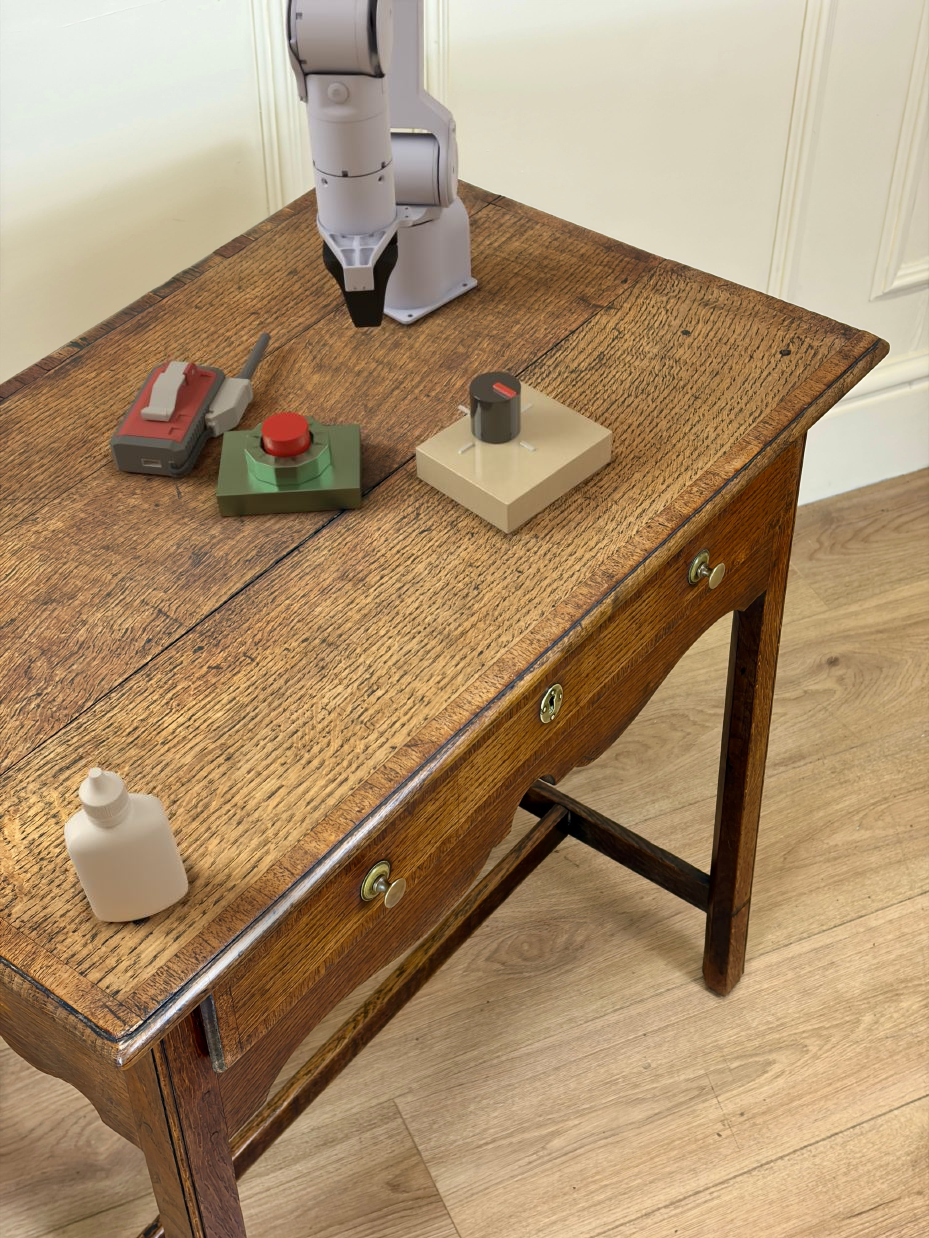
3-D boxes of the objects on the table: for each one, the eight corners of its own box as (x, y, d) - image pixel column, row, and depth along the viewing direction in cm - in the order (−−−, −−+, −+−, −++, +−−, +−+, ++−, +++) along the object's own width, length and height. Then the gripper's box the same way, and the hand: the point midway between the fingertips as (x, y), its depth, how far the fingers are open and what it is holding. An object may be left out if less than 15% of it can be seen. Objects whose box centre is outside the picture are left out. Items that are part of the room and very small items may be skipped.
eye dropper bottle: (109, 858, 79) (60, 734, 71) (198, 869, 79) (159, 745, 70) (83, 921, 76) (28, 799, 68) (175, 933, 76) (132, 811, 67)
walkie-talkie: (209, 492, 103) (280, 348, 117) (200, 448, 100) (274, 306, 114) (105, 481, 104) (187, 340, 118) (92, 437, 101) (178, 298, 115)
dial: (460, 428, 103) (458, 384, 100) (495, 406, 105) (494, 361, 102) (496, 450, 101) (495, 405, 98) (531, 427, 103) (532, 382, 100)
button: (311, 428, 103) (308, 410, 101) (310, 457, 100) (307, 439, 99) (265, 431, 102) (262, 413, 101) (263, 460, 100) (260, 442, 99)
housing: (361, 444, 107) (357, 405, 104) (362, 508, 101) (357, 469, 98) (227, 452, 107) (219, 413, 104) (220, 517, 101) (212, 477, 98)
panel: (510, 404, 110) (510, 373, 108) (610, 461, 104) (613, 429, 102) (407, 471, 104) (405, 439, 102) (507, 534, 99) (507, 503, 96)
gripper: (411, 206, 88) (421, 373, 97) (405, 110, 98) (415, 270, 108) (306, 211, 88) (327, 378, 97) (312, 115, 98) (330, 275, 107)
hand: (367, 322), depth 102 cm, fingers closed
